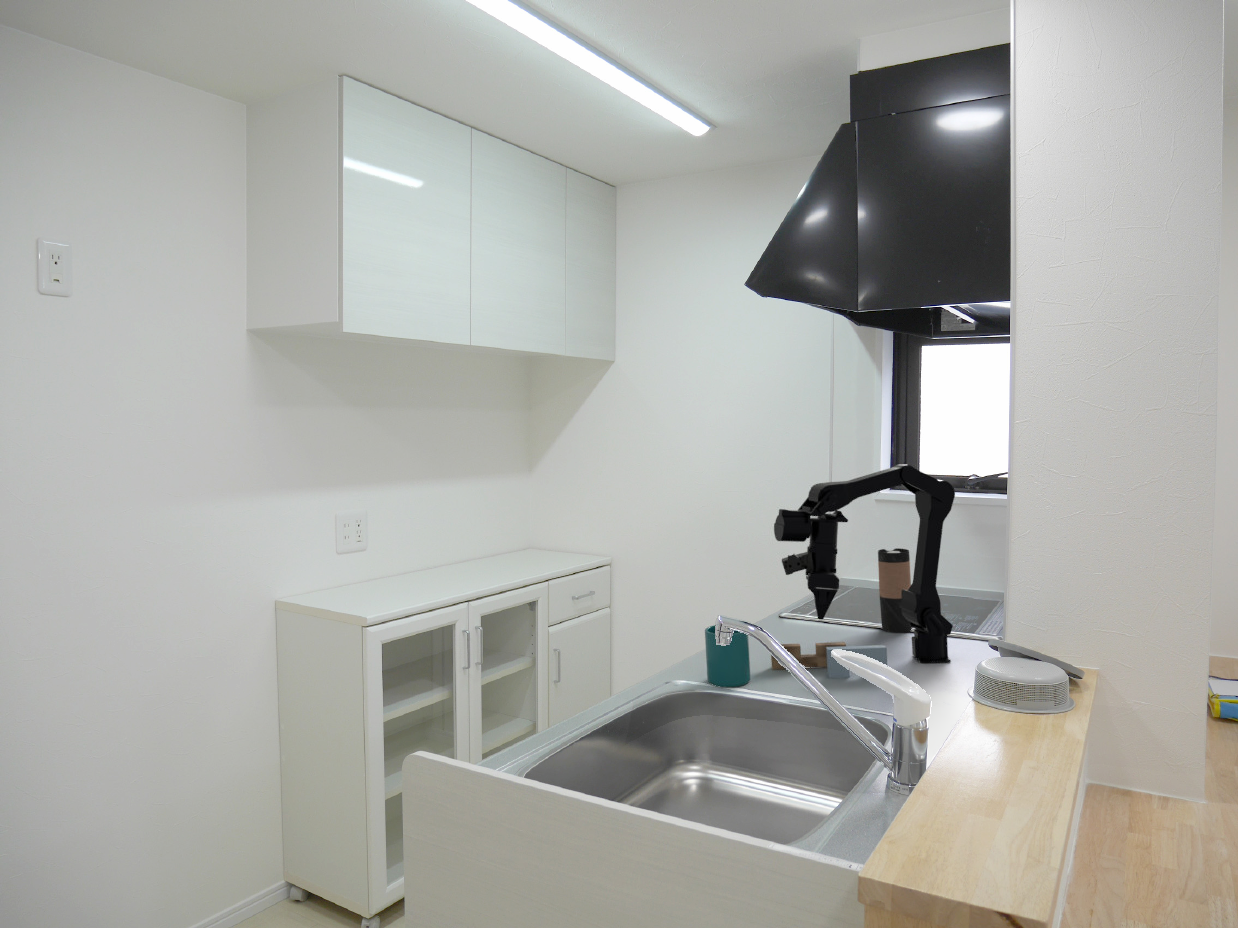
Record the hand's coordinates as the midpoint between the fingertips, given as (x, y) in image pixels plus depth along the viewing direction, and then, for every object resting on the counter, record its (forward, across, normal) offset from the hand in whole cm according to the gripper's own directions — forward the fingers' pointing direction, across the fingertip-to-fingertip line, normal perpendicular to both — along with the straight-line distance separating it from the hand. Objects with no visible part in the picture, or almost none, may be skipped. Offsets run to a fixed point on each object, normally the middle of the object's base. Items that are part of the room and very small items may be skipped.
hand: (819, 614), depth 176 cm
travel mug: (+9, -35, +21) cm, 42 cm away
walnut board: (+12, -3, -2) cm, 13 cm away
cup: (+14, +5, -18) cm, 23 cm away
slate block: (+12, +3, +8) cm, 14 cm away
